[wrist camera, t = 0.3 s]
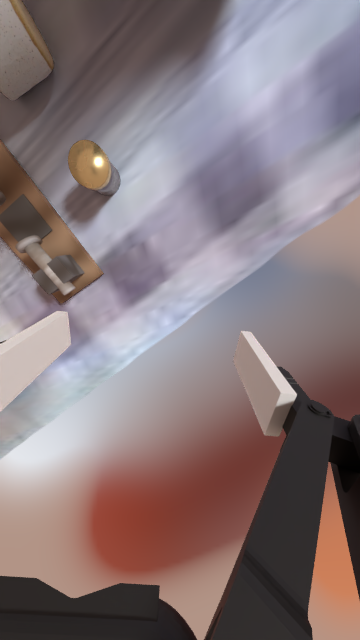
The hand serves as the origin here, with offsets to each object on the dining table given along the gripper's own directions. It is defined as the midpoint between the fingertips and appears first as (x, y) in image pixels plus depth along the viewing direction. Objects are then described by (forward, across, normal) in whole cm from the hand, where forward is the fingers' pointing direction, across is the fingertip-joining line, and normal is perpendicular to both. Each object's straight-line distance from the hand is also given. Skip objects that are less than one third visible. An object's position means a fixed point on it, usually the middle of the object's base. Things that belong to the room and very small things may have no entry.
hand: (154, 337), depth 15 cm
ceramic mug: (+27, -24, +28) cm, 46 cm away
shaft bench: (+26, -26, +6) cm, 38 cm away
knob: (+27, -13, +15) cm, 33 cm away
